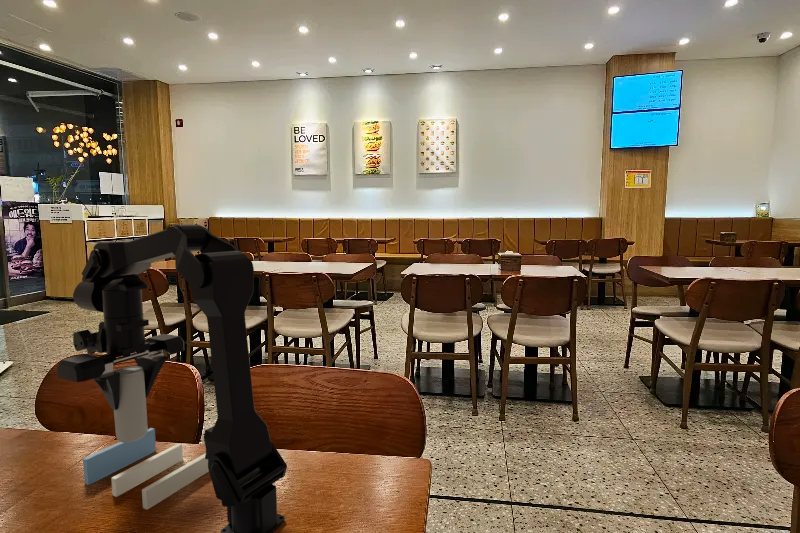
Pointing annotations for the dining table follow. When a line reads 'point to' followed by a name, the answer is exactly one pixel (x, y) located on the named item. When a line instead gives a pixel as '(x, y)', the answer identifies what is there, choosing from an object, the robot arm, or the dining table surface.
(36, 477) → the dining table surface
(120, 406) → the beverage can
